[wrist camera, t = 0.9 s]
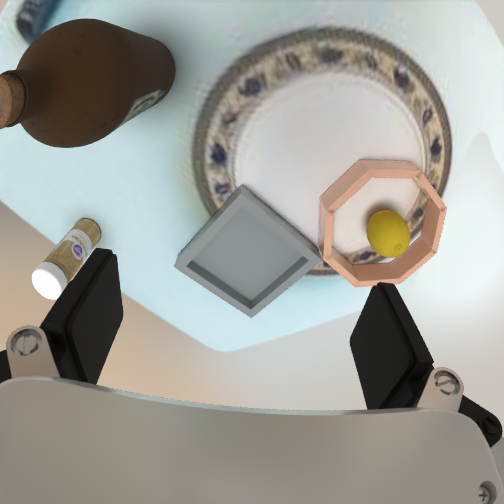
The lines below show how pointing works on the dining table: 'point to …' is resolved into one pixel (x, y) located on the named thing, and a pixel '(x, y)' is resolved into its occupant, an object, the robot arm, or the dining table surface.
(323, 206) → the terracotta ring
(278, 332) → the dining table surface
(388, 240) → the lemon
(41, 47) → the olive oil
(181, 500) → the robot arm
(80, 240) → the sprinkles bottle
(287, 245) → the grey tray
